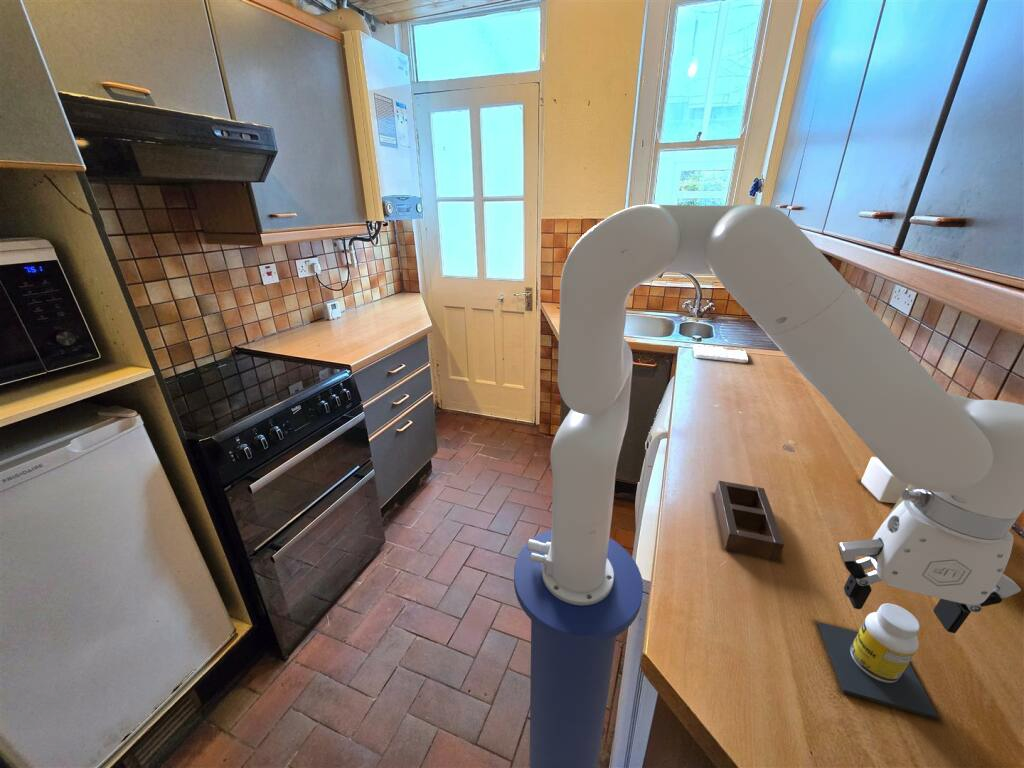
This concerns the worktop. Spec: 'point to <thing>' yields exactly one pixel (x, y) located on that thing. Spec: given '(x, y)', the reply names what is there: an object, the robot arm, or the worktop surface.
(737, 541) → the rack
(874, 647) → the supplement bottle
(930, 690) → the worktop surface
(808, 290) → the robot arm
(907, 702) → the mat
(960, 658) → the worktop surface
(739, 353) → the white flat block
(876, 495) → the medicine bottle
